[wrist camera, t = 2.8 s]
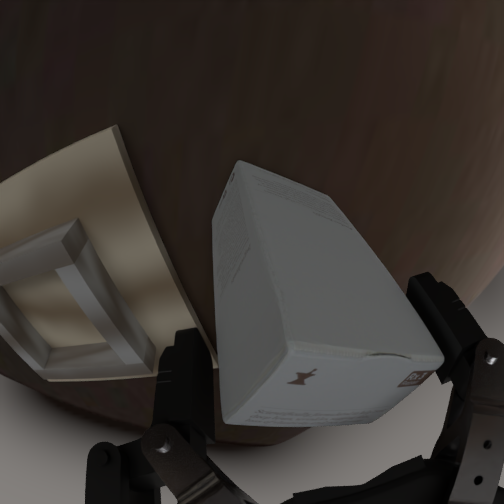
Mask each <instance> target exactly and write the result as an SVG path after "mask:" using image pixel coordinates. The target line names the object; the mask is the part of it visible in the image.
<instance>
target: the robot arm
mask: <svg viewBox="0 0 504 504" xmlns="http://www.w3.org/2000/svg"><path fill="white" fill-rule="evenodd" d="M406 297H407V299H408V300H409V302H410V303H411V305H412V306H413V308H414V309H415V311H416V312H417V314H418V315H419V317H420V318H421V320H422V321H423V323H424V324H425V326H426V327H427V329H428V331H429V332H430V334H431V335H432V337H433V339H434V340H435V342H436V343H437V345H438V347H439V348H440V350H441V352H442V354H443V356H444V362H443V364H442V365H441V366H440V367H439V368H438V369H437V370H436V371H435V372H436V374H437V376H438V378H439V380H440V382H441V384H444V383H447V382H449V381H452V383H453V388H452V391H451V396H450V401H449V405H448V409H447V413H446V417H445V421H444V425H443V429H442V432H441V434H440V436H439V438H438V440H437V442H436V444H435V447H434V449H433V452H432V455H431V458H430V459H423V458H422V455H420V456H417V457H415V458H412V459H410V460H408V461H405V462H403V463H400V464H398V465H395V466H393V467H391V468H389V469H388V470H386V471H385V472H383V473H381V474H380V475H378V476H377V477H375V478H373V479H372V480H370V481H368V482H367V483H365V484H362V485H355V486H335V487H334V486H333V487H323V488H319V489H314V490H309V491H304V492H299V493H293V498H291V499H289V500H286V501H284V502H283V503H281V504H504V488H502V487H500V486H498V483H499V480H500V475H501V472H502V468H503V463H504V344H503V343H501V342H500V341H499V340H497V339H494V338H488V337H487V336H486V335H485V334H484V332H483V330H482V329H481V328H480V326H479V325H478V323H477V322H476V320H475V319H474V317H473V316H472V315H471V313H470V312H469V310H468V309H467V308H465V305H464V304H463V302H462V301H461V300H460V298H459V297H458V296H457V294H456V293H455V292H454V290H453V289H452V288H451V287H449V286H448V285H446V284H445V283H443V282H442V281H441V282H439V283H438V282H437V281H436V280H435V278H434V277H433V276H432V275H431V274H430V273H429V272H425V273H422V274H419V275H416V276H412V277H410V279H409V283H408V288H407V293H406ZM214 443H215V423H214V389H213V361H212V357H211V353H210V351H209V349H208V347H207V345H206V343H205V341H204V339H203V337H202V335H201V334H200V332H199V330H198V328H197V327H194V328H188V329H183V330H177V331H176V333H175V339H174V346H167V347H165V349H164V351H163V353H162V355H161V357H160V358H159V365H158V374H157V384H156V391H155V401H154V412H153V421H152V425H151V427H150V428H148V429H147V430H146V431H145V433H144V434H143V436H142V438H140V439H138V440H135V441H132V442H129V443H126V444H123V445H120V446H115V445H113V444H112V443H109V442H100V443H97V444H96V445H94V446H93V447H92V448H91V450H90V452H89V454H88V459H87V471H86V489H85V504H161V493H160V487H162V486H167V487H168V488H169V490H170V491H171V492H172V493H173V495H174V496H175V497H176V499H177V501H178V503H177V504H258V503H257V502H256V501H254V500H253V499H252V498H251V497H250V496H249V495H247V494H246V493H245V492H244V491H242V490H241V489H240V488H239V487H238V486H237V485H236V484H234V482H233V481H231V480H230V479H229V478H228V477H227V476H226V475H225V474H224V473H223V472H222V471H221V470H220V468H219V467H218V466H216V464H215V463H214V462H213V461H212V460H211V459H210V458H209V457H208V456H207V454H206V444H214Z"/></svg>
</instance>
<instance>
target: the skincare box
mask: <svg viewBox="0 0 504 504" xmlns="http://www.w3.org/2000/svg"><path fill="white" fill-rule="evenodd" d="M212 236H213V241H212V243H213V274H214V297H215V319H216V336H217V352H218V364H219V379H220V396H221V409H222V417H223V421H224V422H225V423H226V424H235V425H251V426H272V427H315V426H335V425H336V426H338V425H352V424H367V423H371V422H373V421H375V420H377V419H378V418H379V417H381V416H382V415H384V414H385V413H387V412H388V411H389V410H390V409H392V408H393V407H394V406H395V405H397V404H398V403H399V402H400V401H401V400H403V399H404V398H405V397H406V396H408V395H409V394H410V393H411V392H412V391H414V390H415V389H416V388H417V387H418V386H419V385H420V384H422V383H423V382H424V381H425V380H426V379H427V378H428V377H429V376H430V375H431V374H432V373H434V372H435V371H436V370H437V369H438V368H439V367H440V366H441V365H442V364H443V362H444V356H443V354H442V352H441V350H440V348H439V347H438V345H437V343H436V342H435V340H434V339H433V337H432V335H431V334H430V332H429V331H428V329H427V327H426V326H425V324H424V323H423V321H422V320H421V318H420V317H419V315H418V314H417V312H416V311H415V309H414V308H413V306H412V305H411V303H410V302H409V300H408V299H407V297H406V296H405V294H404V293H403V292H402V290H401V289H400V287H399V286H398V284H397V283H396V282H395V280H394V279H393V277H392V276H391V275H390V273H389V272H388V271H387V269H386V268H385V266H384V265H383V264H382V262H381V261H380V260H379V258H378V257H377V256H376V254H375V253H374V252H373V251H372V249H371V248H370V247H369V245H368V244H367V243H366V241H365V240H364V239H363V238H362V236H361V235H360V234H359V232H358V231H357V230H356V229H355V228H354V226H353V225H352V224H351V222H350V221H349V220H348V219H347V217H346V216H345V215H344V214H343V213H342V211H341V210H340V209H339V208H338V207H337V205H336V204H335V203H334V202H333V201H332V199H331V198H330V197H329V196H327V195H325V194H323V193H320V192H318V191H316V190H313V189H311V188H309V187H306V186H304V185H302V184H299V183H297V182H294V181H292V180H290V179H287V178H285V177H282V176H280V175H277V174H275V173H272V172H270V171H267V170H264V169H262V168H259V167H257V166H254V165H252V164H249V163H246V162H243V161H237V163H236V164H235V167H234V169H233V171H232V173H231V176H230V178H229V180H228V182H227V185H226V187H225V189H224V192H223V194H222V197H221V199H220V201H219V204H218V206H217V209H216V211H215V214H214V216H213V219H212Z"/></svg>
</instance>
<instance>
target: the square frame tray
mask: <svg viewBox="0 0 504 504" xmlns="http://www.w3.org/2000/svg"><path fill="white" fill-rule="evenodd" d="M194 327H197V328H198V330H199V332H200V334H201V335H202V337H203V339H204V341H205V343H206V345H207V347H208V349H209V351H210V353H211V357H212V361H213V368H219V364H218V356H217V354H216V352H215V351H214V349H213V347H212V345H211V343H210V341H209V339H208V337H207V335H206V333H205V331H204V329H203V327H202V325H201V323H200V321H199V319H198V317H197V315H196V313H195V311H194V309H193V307H192V305H191V303H190V301H189V299H188V297H187V295H186V292H185V290H184V288H183V286H182V284H181V282H180V280H179V278H178V275H177V273H176V271H175V269H174V267H173V264H172V262H171V260H170V258H169V255H168V253H167V251H166V249H165V246H164V244H163V242H162V239H161V237H160V235H159V232H158V230H157V228H156V225H155V223H154V220H153V218H152V216H151V213H150V211H149V208H148V206H147V203H146V201H145V198H144V196H143V193H142V191H141V188H140V186H139V183H138V180H137V178H136V175H135V172H134V170H133V167H132V164H131V162H130V159H129V156H128V153H127V151H126V148H125V145H124V142H123V139H122V136H121V133H120V131H119V128H118V125H115V126H112V127H110V128H107V129H105V130H102V131H100V132H98V133H95V134H93V135H91V136H88V137H86V138H84V139H82V140H80V141H77V142H75V143H73V144H71V145H69V146H67V147H65V148H63V149H61V150H59V151H57V152H55V153H53V154H51V155H49V156H47V157H45V158H43V159H41V160H39V161H38V162H36V163H34V164H32V165H30V166H28V167H27V168H25V169H23V170H21V171H20V172H18V173H16V174H15V175H13V176H11V177H10V178H8V179H6V180H5V181H3V182H2V183H0V335H1V336H2V337H3V338H4V339H5V340H6V342H7V343H8V344H9V345H10V346H11V347H12V348H13V349H14V350H15V351H16V352H17V354H18V355H19V356H20V357H21V358H22V359H23V360H24V361H25V362H26V363H27V364H28V365H29V366H30V367H31V368H32V369H33V370H34V371H35V372H36V373H37V374H39V375H40V376H41V377H42V378H43V379H47V380H48V381H94V380H113V379H128V378H140V377H150V376H157V374H158V365H159V358H160V357H161V355H162V353H163V351H164V349H165V347H167V346H174V339H175V333H176V331H177V330H183V329H188V328H194Z"/></svg>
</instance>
